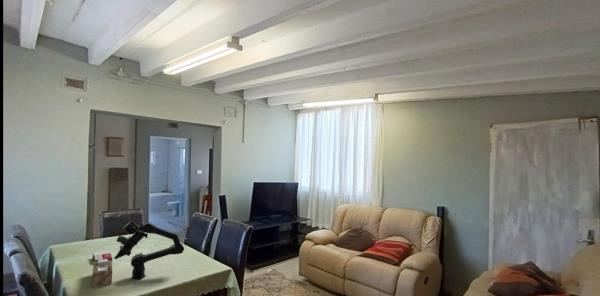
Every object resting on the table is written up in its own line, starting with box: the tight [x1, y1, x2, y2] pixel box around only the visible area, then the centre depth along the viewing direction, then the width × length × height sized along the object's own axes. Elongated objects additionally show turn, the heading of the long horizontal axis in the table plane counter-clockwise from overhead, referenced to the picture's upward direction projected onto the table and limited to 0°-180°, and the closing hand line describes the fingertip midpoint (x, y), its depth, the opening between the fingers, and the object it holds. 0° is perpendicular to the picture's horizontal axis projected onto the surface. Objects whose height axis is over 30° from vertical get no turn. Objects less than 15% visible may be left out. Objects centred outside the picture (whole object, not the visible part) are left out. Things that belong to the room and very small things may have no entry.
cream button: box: [98, 267, 108, 272], centre depth 199 cm, size 5×5×3 cm
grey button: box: [98, 259, 108, 266], centre depth 208 cm, size 5×5×3 cm
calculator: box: [92, 251, 113, 263], centre depth 237 cm, size 11×4×15 cm
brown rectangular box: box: [91, 259, 113, 288], centre depth 203 cm, size 10×22×8 cm, turn 31°
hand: (114, 258), depth 202 cm, fingers closed
